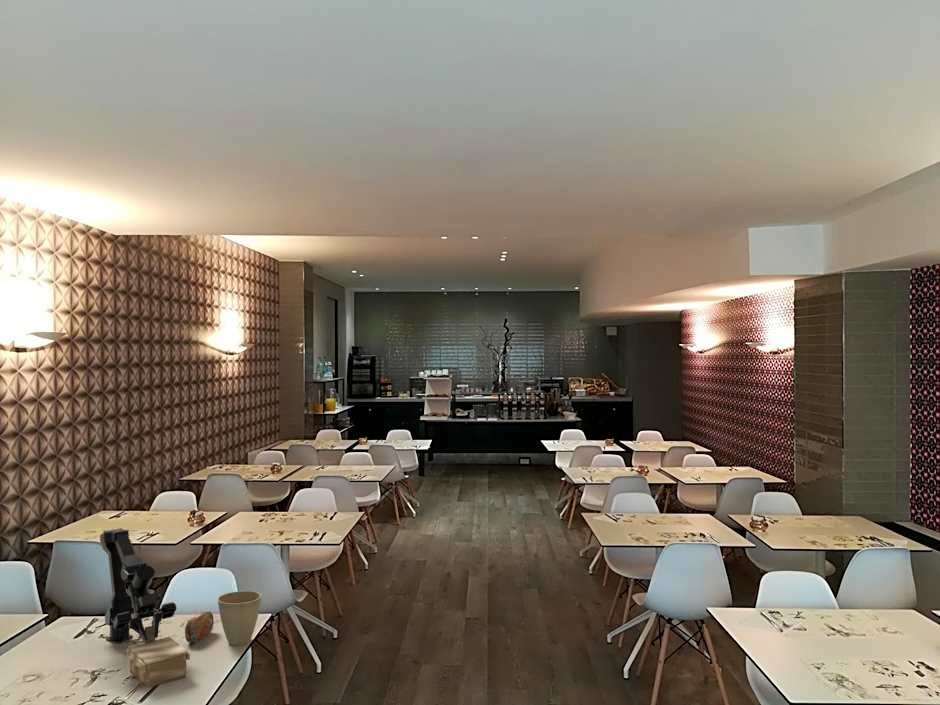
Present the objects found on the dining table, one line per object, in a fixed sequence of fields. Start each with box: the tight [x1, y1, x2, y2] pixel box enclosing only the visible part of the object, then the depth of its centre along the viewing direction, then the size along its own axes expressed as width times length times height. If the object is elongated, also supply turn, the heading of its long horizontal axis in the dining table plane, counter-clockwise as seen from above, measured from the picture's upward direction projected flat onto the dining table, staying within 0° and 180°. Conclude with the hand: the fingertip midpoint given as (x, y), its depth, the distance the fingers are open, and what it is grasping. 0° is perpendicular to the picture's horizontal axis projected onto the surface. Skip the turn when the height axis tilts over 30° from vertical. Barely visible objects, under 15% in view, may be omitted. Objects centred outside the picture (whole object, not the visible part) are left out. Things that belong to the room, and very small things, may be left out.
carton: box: [129, 654, 187, 689], centre depth 236 cm, size 16×12×7 cm
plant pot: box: [217, 590, 262, 646], centre depth 263 cm, size 15×15×16 cm
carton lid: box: [126, 625, 191, 672], centre depth 236 cm, size 17×14×8 cm
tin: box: [184, 611, 215, 644], centre depth 266 cm, size 15×3×8 cm, turn 168°
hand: (151, 638), depth 240 cm, fingers closed on carton lid, 3 cm apart
